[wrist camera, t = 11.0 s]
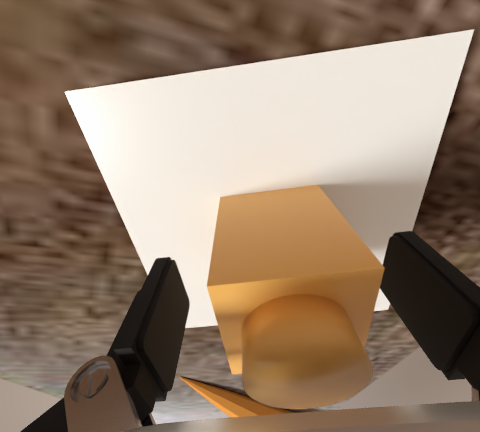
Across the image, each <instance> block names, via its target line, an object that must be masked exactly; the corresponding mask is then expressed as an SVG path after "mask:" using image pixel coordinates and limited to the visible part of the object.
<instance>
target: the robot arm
mask: <svg viewBox="0 0 480 432" xmlns="http://www.w3.org/2000/svg"><path fill="white" fill-rule="evenodd" d="M383 266H384V268H385V269H384V273H383V277H382V281H381V285H380V289H381V291H382V292H383V294H384V295H385V297H386V298H387V299H388V301H389V302H390V304H391V305H392V307H393V308H394V309H395V311H396V312H397V314H398V315H399V317H400V318H401V319H402V321H403V322H404V324H405V325H406V327H407V328H408V329H409V331H410V332H411V334H412V335H413V337H414V338H415V339H416V341H417V342H418V344H419V345H420V347H421V348H422V349H423V351H424V352H425V354H426V355H427V357H428V358H429V359H430V361H431V362H432V364H433V365H434V366H435V367H436V368H437V369H438V370H441V371H442V372H443V374H444V375H445V376H446V378H447V379H448V380H456V379H465V378H466V379H467V380H468V382H469V383H470V384H471V385H472V402H454V403H438V404H422V405H406V406H390V407H375V408H361V409H345V410H330V411H316V412H301V413H287V414H273V415H259V416H246V417H232V418H219V419H206V420H196V421H185V422H174V423H164V424H157V425H156V424H155V421H154V419H153V416H152V414H151V412H152V411H153V408H154V404H155V402H156V401H165V400H166V396H167V391H171V389H172V387H173V382H174V378H175V373H176V368H177V364H178V359H179V354H180V350H181V345H182V340H183V336H184V331H185V326H186V321H187V317H188V312H189V307H190V302H189V298H188V295H187V292H186V289H185V287H184V284H183V281H182V278H181V275H180V273H179V270H178V267H177V264H176V261H175V260H171V258H170V257H164V258H157V259H155V261H154V263H153V265H152V268H151V270H150V272H149V274H148V276H147V278H146V280H145V283H144V285H143V287H142V289H141V290H140V291H138V292H137V294H136V296H135V298H134V300H133V302H132V304H131V306H130V308H129V310H128V312H127V315H126V317H125V319H124V321H123V323H122V325H121V327H120V329H119V331H118V333H117V335H116V337H115V339H114V342H113V344H112V346H111V348H110V350H109V352H108V354H107V356H100V357H96V358H94V359H92V360H90V361H88V362H87V363H85V364H84V365H83V366H82V367H80V368H79V369H78V370H77V372H76V373H75V374H74V375H73V376H72V378H71V379H70V381H69V383H68V384H67V387H66V390H65V395H64V398H63V399H61V400H60V401H59V402H58V403H56V404H55V405H54V406H53V407H51V408H50V409H49V410H47V411H46V412H45V413H44V414H42V415H41V416H40V417H39V418H37V419H36V420H35V421H33V422H32V423H31V424H30V425H28V426H27V427H26V428H25V429H23V430H22V431H21V432H480V287H478V286H477V285H476V284H475V283H474V282H472V281H471V280H470V279H469V278H468V277H466V276H465V275H464V274H463V273H462V272H460V271H459V270H458V269H457V268H456V267H454V266H453V265H452V264H451V263H450V262H448V261H447V260H446V259H445V258H444V257H442V256H441V255H440V254H439V253H438V252H436V251H435V250H434V249H433V248H432V247H430V246H429V245H428V244H427V243H426V242H425V241H423V240H422V239H421V238H420V237H419V236H417V235H416V234H415V233H414V232H412V231H404V232H396V233H394V234H393V236H391V237H390V238H389V241H388V245H387V249H386V253H385V257H384V261H383Z"/></svg>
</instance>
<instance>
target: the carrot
mask: <svg viewBox="0 0 480 432" xmlns="http://www.w3.org/2000/svg"><path fill="white" fill-rule="evenodd" d="M178 377H179V376H178ZM180 378H181V379H182V380H183V381H185V382H186V383H187V384H188V385H190V386H191V387H192V388H193V389H195V390H196V391H197V392H198V393H200V394H201V395H202V396H203V397H205V398H206V399H207V400H208V401H210V402H211V403H212V404H213V405H215V406H216V407H217V408H219V409H220V410H221V411H223V412H224V413H225V414H227V415H228V416H230V417H231V418H232V417H246V416H259V415H273V414H287V413H294V412H291V411H288V410H285V409H282V408H276V407H271V406H268V405H264V404H262V403H259V402H257V401H256V400H254V399H252V398H249V397H246V396H243V395H240V394H237V393H234V392H231V391H228V390H225V389H222V388H218V387H215V386H211V385H208V384H204V383H201V382H197V381H194V380H191V379H187V378H183V377H180Z"/></svg>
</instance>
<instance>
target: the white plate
mask: <svg viewBox="0 0 480 432" xmlns="http://www.w3.org/2000/svg"><path fill="white" fill-rule="evenodd" d="M473 32H474V30H467V31H461V32H454V33H448V34H441V35H435V36H428V37H421V38H415V39H408V40H402V41H395V42H389V43H382V44H375V45H369V46H362V47H356V48H349V49H343V50H336V51H329V52H323V53H316V54H310V55H303V56H297V57H290V58H283V59H277V60H270V61H264V62H257V63H251V64H244V65H237V66H231V67H224V68H218V69H211V70H205V71H198V72H192V73H185V74H178V75H172V76H165V77H159V78H152V79H146V80H139V81H132V82H126V83H119V84H113V85H106V86H100V87H93V88H86V89H80V90H73V91H67V92H65V94H66V96H67V98H68V101H69V103H70V105H71V107H72V109H73V112H74V114H75V116H76V118H77V120H78V123H79V125H80V127H81V129H82V131H83V134H84V136H85V138H86V140H87V142H88V145H89V147H90V149H91V151H92V153H93V156H94V158H95V160H96V162H97V164H98V167H99V169H100V171H101V173H102V175H103V178H104V180H105V182H106V184H107V186H108V189H109V191H110V193H111V195H112V197H113V200H114V202H115V204H116V206H117V208H118V211H119V213H120V215H121V217H122V219H123V222H124V224H125V226H126V228H127V230H128V233H129V235H130V237H131V239H132V241H133V244H134V246H135V248H136V250H137V252H138V255H139V257H140V259H141V261H142V263H143V266H144V268H145V270H146V272H147V274H149V272H150V270H151V268H152V265H153V263H154V261H155V259H157V258H164V257H170V258H171V260H175V261H176V264H177V267H178V270H179V273H180V275H181V278H182V281H183V284H184V287H185V289H186V292H187V295H188V298H189V302H190V307H189V312H188V317H187V321H186V326H185V328H192V327H203V326H214V325H218V324H217V320H216V317H215V313H214V310H213V306H212V303H211V299H210V296H209V293H208V289H207V281H208V274H209V268H210V261H211V254H212V248H213V241H214V234H215V228H216V221H217V214H218V208H219V201H220V197H224V196H232V195H240V194H248V193H256V192H264V191H272V190H280V189H288V188H296V187H304V186H312V185H318V186H319V187H320V188H321V190H322V191H323V192H324V193H325V194H326V196H327V197H328V198H329V199H330V201H331V202H332V203H333V204H334V206H335V207H336V208H337V209H338V211H339V212H340V213H341V214H342V216H343V217H344V218H345V219H346V221H347V222H348V223H349V224H350V226H351V227H352V228H353V229H354V230H355V232H356V233H357V234H358V235H359V237H360V238H361V239H362V240H363V242H364V243H365V244H366V245H367V247H368V248H369V249H370V250H371V252H372V253H373V254H374V255H375V257H376V258H377V259H378V260H379V261H380V263H381V264H382V265H383V261H384V257H385V253H386V249H387V245H388V241H389V238H390V237H391V236H393V234H394V233H396V232H404V231H412V230H413V227H414V224H415V220H416V217H417V214H418V211H419V207H420V204H421V201H422V198H423V194H424V191H425V188H426V185H427V181H428V178H429V175H430V172H431V168H432V165H433V162H434V159H435V155H436V152H437V149H438V146H439V142H440V139H441V136H442V133H443V129H444V126H445V123H446V120H447V116H448V113H449V110H450V107H451V104H452V100H453V97H454V94H455V91H456V87H457V84H458V81H459V78H460V74H461V71H462V68H463V65H464V61H465V58H466V55H467V52H468V48H469V45H470V42H471V39H472V35H473ZM389 305H390V302H389V301H388V299H387V298H386V297H385V295H384V294H383V292H382V291H381V289H379V293H378V297H377V301H376V304H375V308H374V311H380V310H388V308H389Z"/></svg>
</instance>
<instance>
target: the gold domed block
mask: <svg viewBox="0 0 480 432" xmlns="http://www.w3.org/2000/svg"><path fill="white" fill-rule="evenodd" d="M384 269H385V268H384V266H383V265H382V264H381V263H380V261H379V260H378V259H377V258H376V257H375V255H374V254H373V253H372V252H371V250H370V249H369V248H368V247H367V245H366V244H365V243H364V242H363V240H362V239H361V238H360V237H359V235H358V234H357V233H356V232H355V230H354V229H353V228H352V227H351V226H350V224H349V223H348V222H347V221H346V219H345V218H344V217H343V216H342V214H341V213H340V212H339V211H338V209H337V208H336V207H335V206H334V204H333V203H332V202H331V201H330V199H329V198H328V197H327V196H326V194H325V193H324V192H323V191H322V190H321V188H320V187H319V186H318V185H312V186H304V187H296V188H288V189H280V190H272V191H264V192H256V193H248V194H240V195H232V196H224V197H220V201H219V208H218V214H217V221H216V228H215V234H214V241H213V248H212V254H211V261H210V268H209V274H208V281H207V289H208V293H209V296H210V299H211V303H212V306H213V310H214V313H215V317H216V320H217V324H218V327H219V330H220V334H221V337H222V341H223V344H224V348H225V351H226V354H227V358H228V361H229V365H230V368H231V372H232V374H242V384H243V388H244V390H245V392H246V393H247V394H248V395H249V396H250V397H251V398H252V399H254V400H256V401H257V402H259V403H262V404H264V405H268V406H271V407H276V408H283V409H310V408H318V407H323V406H328V405H331V404H335V403H338V402H341V401H343V400H346V399H348V398H350V397H352V396H354V395H355V394H357V393H358V392H360V391H361V390H362V389H364V388H365V387H366V386H367V385H368V383H369V382H370V380H371V378H372V375H373V367H372V364H371V362H370V360H369V358H368V356H367V354H366V351H365V349H364V348H365V344H366V340H367V336H368V332H369V328H370V324H371V320H372V316H373V312H374V308H375V304H376V301H377V297H378V293H379V289H380V285H381V281H382V277H383V273H384Z"/></svg>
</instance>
